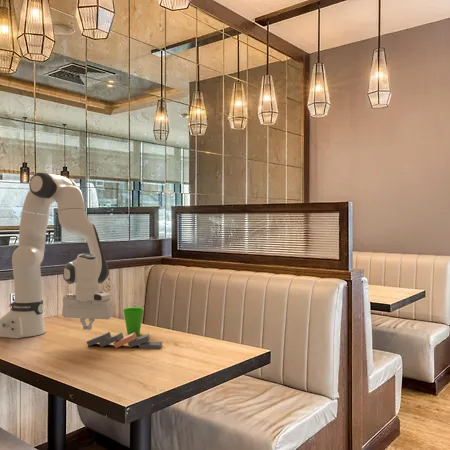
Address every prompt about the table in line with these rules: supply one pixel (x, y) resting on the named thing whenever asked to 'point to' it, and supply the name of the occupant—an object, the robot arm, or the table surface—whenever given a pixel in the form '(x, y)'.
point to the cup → (133, 319)
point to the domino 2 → (111, 339)
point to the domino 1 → (98, 339)
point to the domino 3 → (125, 340)
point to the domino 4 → (139, 340)
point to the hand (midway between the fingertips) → (87, 329)
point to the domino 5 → (150, 345)
